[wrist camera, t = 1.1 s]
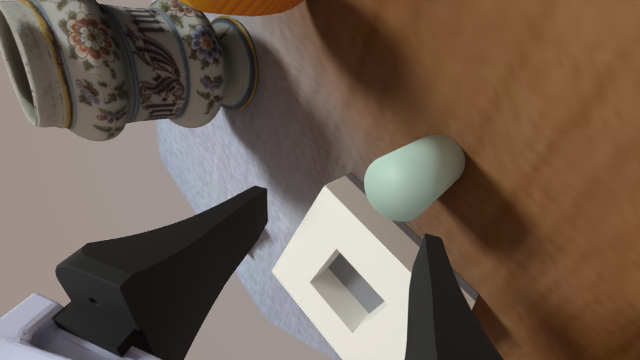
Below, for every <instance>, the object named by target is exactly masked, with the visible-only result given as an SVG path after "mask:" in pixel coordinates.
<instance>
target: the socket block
mask: <svg viewBox="0 0 640 360" xmlns="http://www.w3.org/2000/svg"><path fill="white" fill-rule="evenodd" d="M422 241H423V240H422V239H420V238H419V237H418V236H417V235H416V234H415V233H414V232H413V231H412V230H411V229H410V228H409V227H408V226H407V225H406V224H405V223H404V222H398V221H393V220H390V219H388V218H386V217H384V216H382V215H381V214H379V213H378V212H377V211H376V210H375V209H374V208H373V207H372V205H371V204H370V202H369V200H368V198H367V196H366V193H365V188H364V184H363V183H362V182H361V181H360V180H359V179H358V178H357V177H355V176H354V175H353V174H352V173H349V174H347V175H345V176H343V177H341V178H339V179H337V180H335V181H332V182H330V183H328V184H326V185H324V187H323V188H322V190H321V192H320V193H319V195H318V197H317V198H316V200H315V201H314V203H313V205H312V206H311V208H310V210H309V211H308V213H307V214H306V216H305V218H304V219H303V221H302V223H301V224H300V226H299V227H298V229H297V231H296V232H295V234H294V236H293V237H292V239H291V240H290V242H289V244H288V245H287V247H286V249H285V250H284V252H283V253H282V255H281V257H280V258H279V260H278V262H277V263H276V265H275V266H274V268H273V270H272V273H273V274H274V275H275V276H276V278H277V279H278V280H279V281H280V283H281V284H282V285H283V286H284V288H285V289H286V290H287V291H288V292H289V294H290V295H291V296H292V297H293V299H294V300H295V301H296V302H297V304H298V305H299V306H300V307H301V309H302V310H303V311H304V312H305V314H306V315H307V316H308V317H309V319H310V320H311V321H312V322H313V324H314V325H315V326H316V327H317V329H318V330H319V331H320V332H321V334H322V335H323V336H324V337H325V339H326V340H327V341H328V342H329V343H330V345H331V346H332V347H333V348H334V350H335V351H336V352H337V353H338V355H339V356H340V357H341V358H342V360H405V353H406V342H407V321H408V298H409V285H410V279H411V273H412V267H413V264H414V262H415V259H416V256H417V254H418V251H419V248H420V246H421V243H422ZM452 270H453V269H452ZM453 272H454V274H455V277H456V279H457V281H458V284H459V286H460V288H461V290H462V292H463V294H464V296H465V298H466V300H467V302H468V304H469V306H470V308H471V310H472V308H473V306H474V304H475V301H476V299H477V297H478V295H479V294H478V293H477V292H476V291H475V290H474V289H473V288H472V287H471V286H470V285H469V284H468V283H467V282H466V281H465V280H463V279H462V278H461V277H460V276H459V275H458V274H457V273H456V272H455V271H454V270H453Z"/></svg>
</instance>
